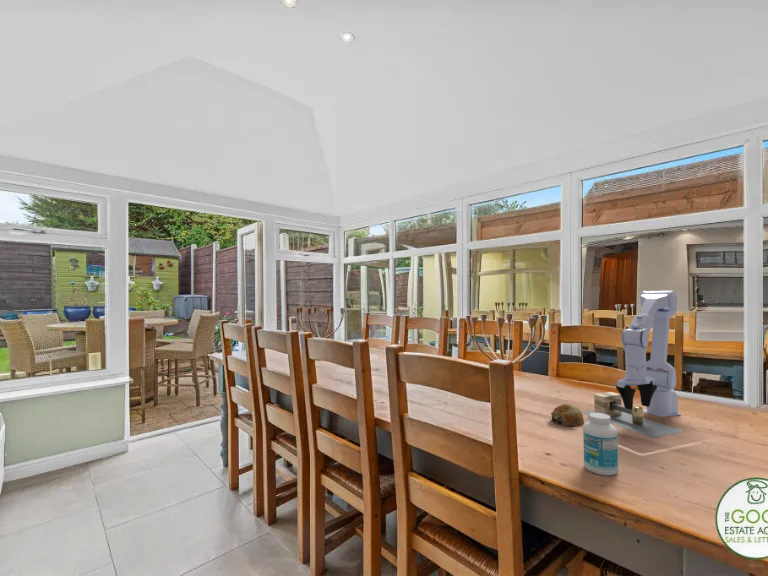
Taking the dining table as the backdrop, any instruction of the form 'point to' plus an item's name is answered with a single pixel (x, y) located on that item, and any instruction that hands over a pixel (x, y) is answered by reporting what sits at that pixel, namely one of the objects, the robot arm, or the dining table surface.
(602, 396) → the eye block
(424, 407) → the dining table surface
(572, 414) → the bread roll
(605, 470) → the pill bottle
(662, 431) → the base board
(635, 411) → the hook rod
